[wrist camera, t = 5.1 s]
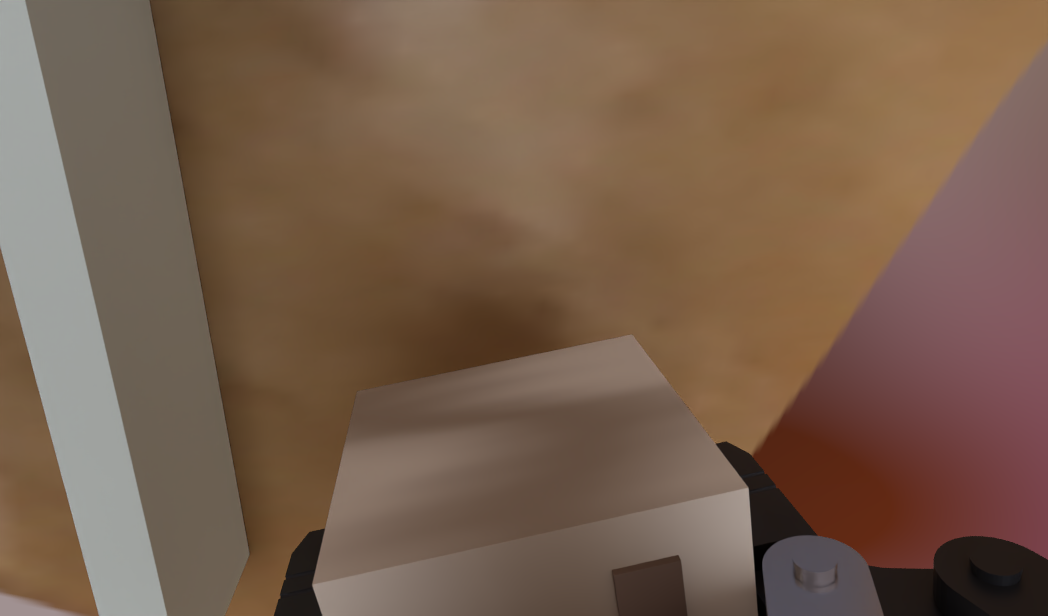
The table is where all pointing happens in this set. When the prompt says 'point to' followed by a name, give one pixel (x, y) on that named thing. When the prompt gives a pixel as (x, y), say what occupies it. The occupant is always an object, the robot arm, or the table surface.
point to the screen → (115, 306)
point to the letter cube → (536, 496)
